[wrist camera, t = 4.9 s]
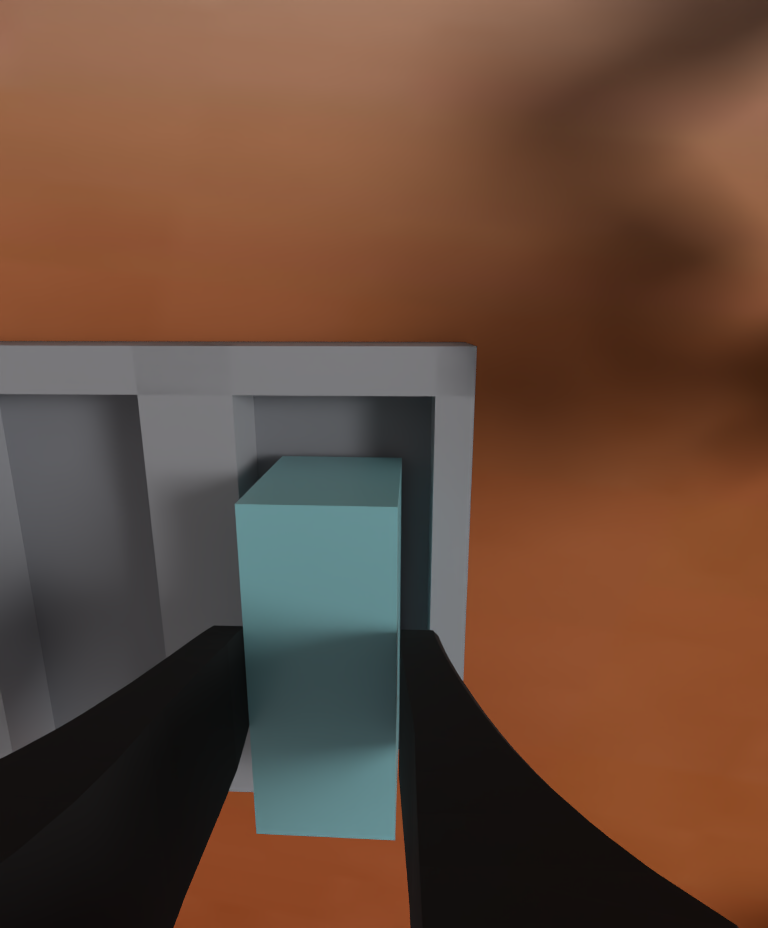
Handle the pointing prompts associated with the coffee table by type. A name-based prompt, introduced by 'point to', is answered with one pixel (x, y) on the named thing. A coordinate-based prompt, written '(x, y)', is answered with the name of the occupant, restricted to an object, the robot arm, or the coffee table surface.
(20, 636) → the grey two-slot rack
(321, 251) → the coffee table surface
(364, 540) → the tall teal prism
